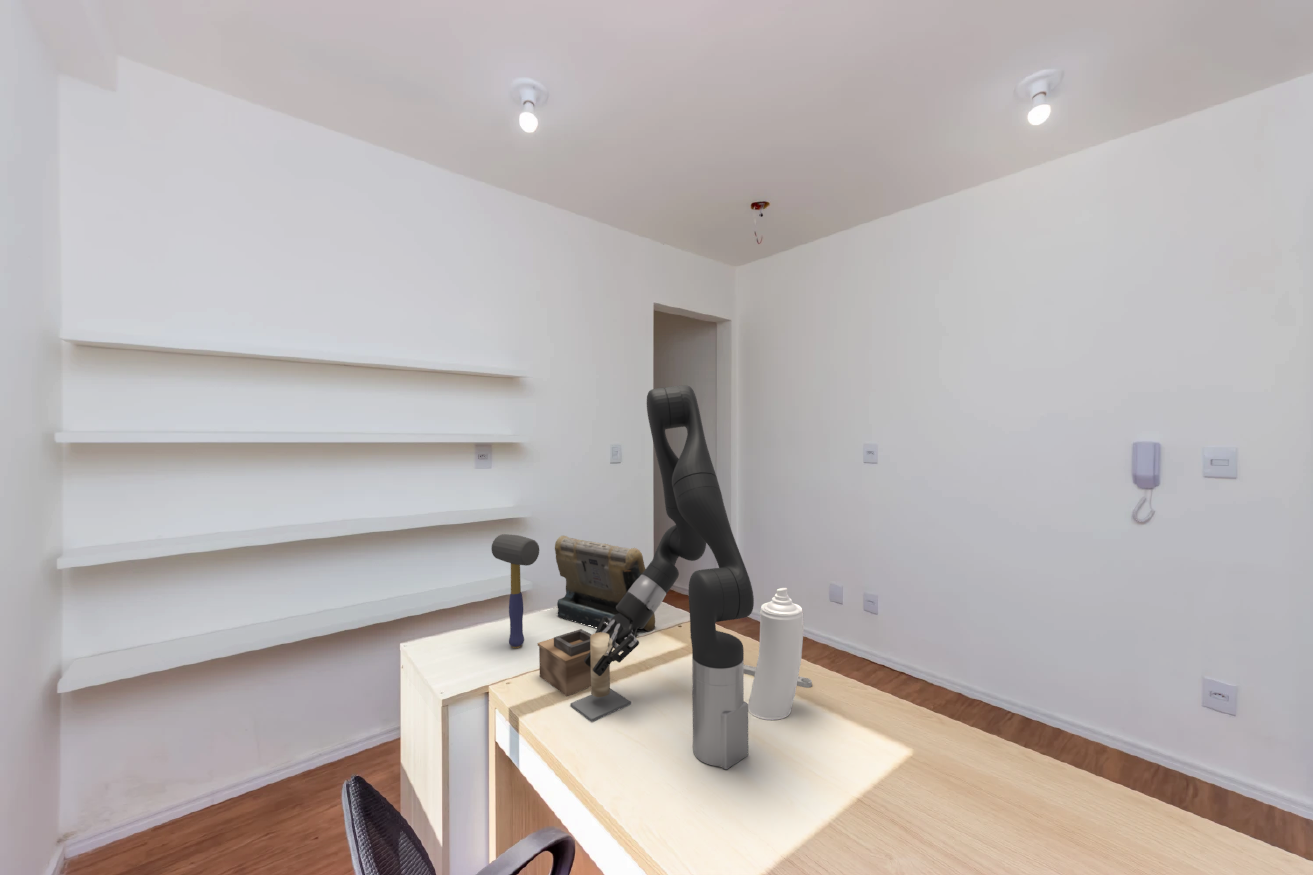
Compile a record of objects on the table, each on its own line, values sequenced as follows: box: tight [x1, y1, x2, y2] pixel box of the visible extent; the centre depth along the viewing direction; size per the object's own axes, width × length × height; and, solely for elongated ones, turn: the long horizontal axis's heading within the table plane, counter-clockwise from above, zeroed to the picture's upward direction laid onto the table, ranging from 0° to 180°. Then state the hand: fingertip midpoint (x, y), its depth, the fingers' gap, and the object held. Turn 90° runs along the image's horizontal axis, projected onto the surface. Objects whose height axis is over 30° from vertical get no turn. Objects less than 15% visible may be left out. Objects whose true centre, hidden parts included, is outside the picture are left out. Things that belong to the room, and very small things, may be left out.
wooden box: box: [537, 628, 593, 697], centre depth 123 cm, size 13×12×10 cm
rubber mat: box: [569, 687, 632, 723], centre depth 111 cm, size 8×10×1 cm
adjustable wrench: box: [744, 664, 813, 689], centre depth 124 cm, size 25×6×2 cm, turn 58°
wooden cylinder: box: [590, 632, 611, 697], centre depth 111 cm, size 4×4×12 cm
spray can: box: [747, 587, 805, 721], centre depth 110 cm, size 12×11×25 cm
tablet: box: [554, 535, 656, 638], centre depth 157 cm, size 33×14×25 cm, turn 59°
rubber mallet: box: [491, 533, 540, 649], centre depth 140 cm, size 12×8×30 cm, turn 54°
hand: (591, 668), depth 110 cm, fingers closed on wooden cylinder, 4 cm apart
